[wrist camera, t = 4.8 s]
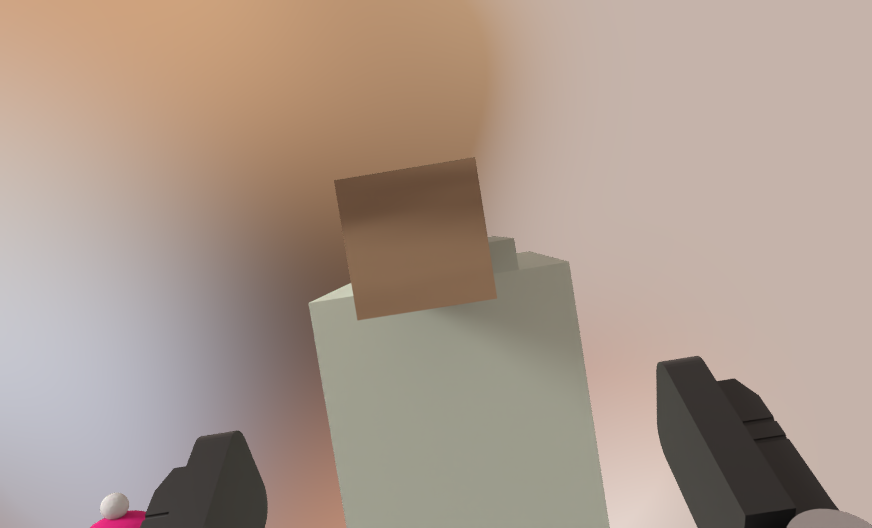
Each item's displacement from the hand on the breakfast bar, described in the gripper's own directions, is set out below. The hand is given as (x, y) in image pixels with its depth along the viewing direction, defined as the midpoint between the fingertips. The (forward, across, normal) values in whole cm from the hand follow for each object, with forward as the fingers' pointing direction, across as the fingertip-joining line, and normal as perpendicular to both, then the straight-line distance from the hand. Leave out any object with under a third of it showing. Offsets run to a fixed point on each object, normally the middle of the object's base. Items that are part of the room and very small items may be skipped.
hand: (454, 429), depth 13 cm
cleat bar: (+14, 0, -5) cm, 15 cm away
